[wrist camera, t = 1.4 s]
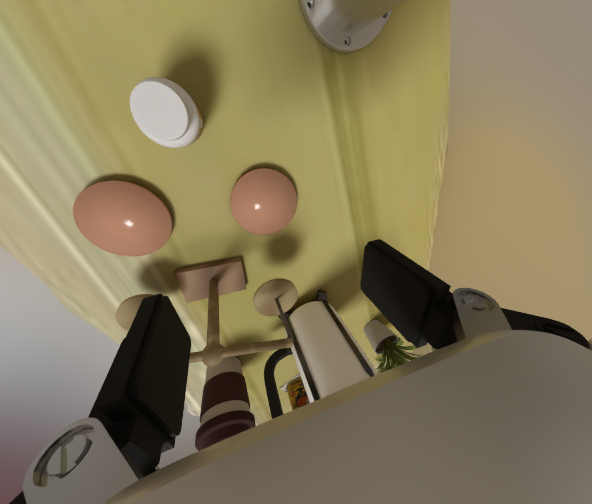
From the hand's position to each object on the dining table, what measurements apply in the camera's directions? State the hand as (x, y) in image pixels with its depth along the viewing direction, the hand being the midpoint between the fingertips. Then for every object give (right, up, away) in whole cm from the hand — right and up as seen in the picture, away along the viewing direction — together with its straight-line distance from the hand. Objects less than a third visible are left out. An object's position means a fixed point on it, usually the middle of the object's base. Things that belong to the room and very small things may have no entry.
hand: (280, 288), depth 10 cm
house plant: (+21, -18, +49) cm, 56 cm away
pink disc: (-4, +9, +22) cm, 25 cm away
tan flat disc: (-21, +6, +18) cm, 28 cm away
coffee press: (+2, -13, +38) cm, 41 cm away
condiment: (+1, -37, +51) cm, 63 cm away
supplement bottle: (-13, +17, +15) cm, 26 cm away
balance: (-13, -3, +26) cm, 29 cm away
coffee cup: (-16, -24, +37) cm, 47 cm away
